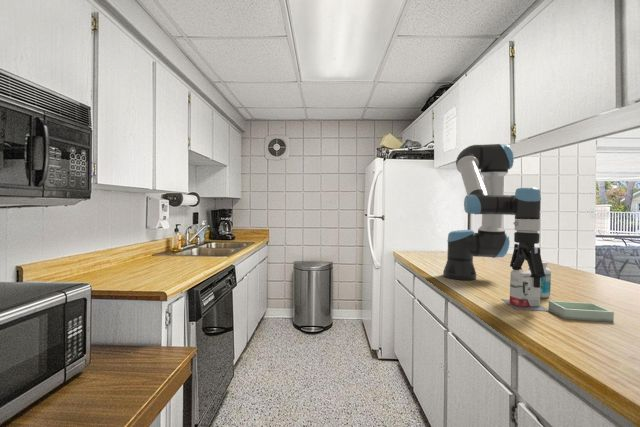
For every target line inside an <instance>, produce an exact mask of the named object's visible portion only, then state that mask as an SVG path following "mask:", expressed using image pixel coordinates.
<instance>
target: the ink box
mask: <svg viewBox="0 0 640 427" xmlns="http://www.w3.org/2000/svg"><path fill="white" fill-rule="evenodd" d="M531 275H532V274H531V271H530V270H528V269H527V270H525V269H522V270H513V269H512V270H511V271H510V279H509V300H510V303H511V304H514V305H517V306H519V307H529V306H540V305H541V298H540V297H530V276H531ZM540 287H541V278H540Z"/></svg>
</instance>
